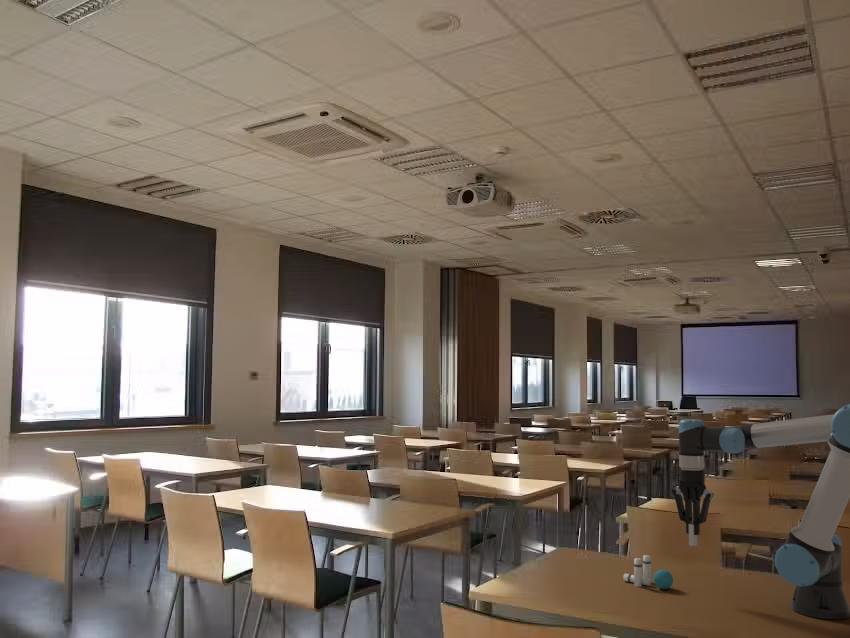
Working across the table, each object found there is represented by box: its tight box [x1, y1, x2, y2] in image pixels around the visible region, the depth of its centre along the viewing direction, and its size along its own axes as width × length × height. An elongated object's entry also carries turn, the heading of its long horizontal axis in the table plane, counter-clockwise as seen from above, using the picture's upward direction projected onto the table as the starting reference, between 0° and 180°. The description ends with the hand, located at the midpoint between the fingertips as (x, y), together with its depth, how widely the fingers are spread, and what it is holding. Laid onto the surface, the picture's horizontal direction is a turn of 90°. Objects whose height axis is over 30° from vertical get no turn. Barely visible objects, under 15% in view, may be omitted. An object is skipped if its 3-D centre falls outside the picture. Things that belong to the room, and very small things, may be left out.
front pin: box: [622, 572, 652, 587], centre depth 249 cm, size 2×2×8 cm
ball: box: [653, 569, 674, 590], centre depth 243 cm, size 6×6×6 cm
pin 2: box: [642, 554, 652, 580], centre depth 251 cm, size 2×2×8 cm
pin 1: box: [633, 557, 643, 588], centre depth 246 cm, size 2×2×8 cm
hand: (693, 545), depth 237 cm, fingers closed
